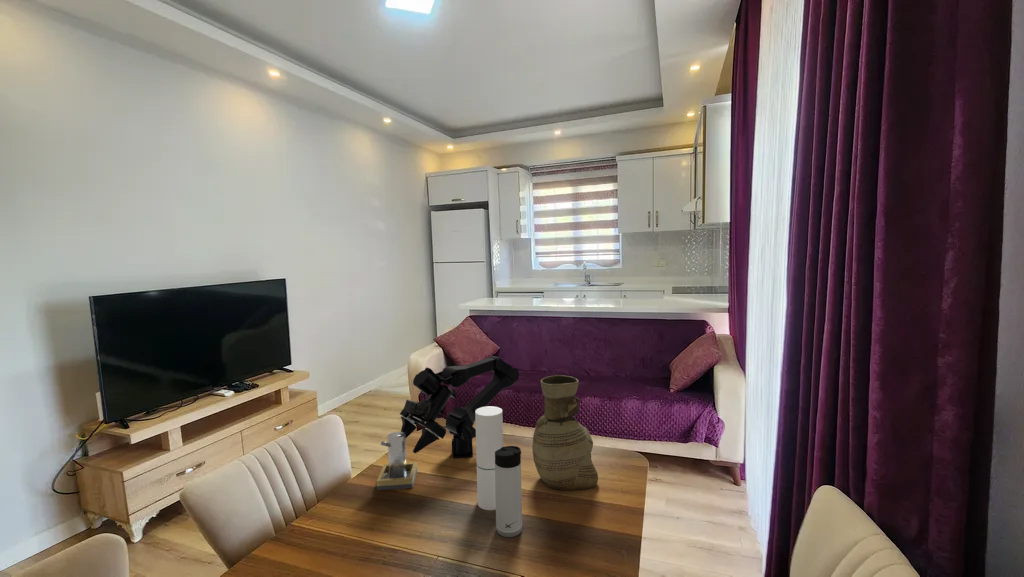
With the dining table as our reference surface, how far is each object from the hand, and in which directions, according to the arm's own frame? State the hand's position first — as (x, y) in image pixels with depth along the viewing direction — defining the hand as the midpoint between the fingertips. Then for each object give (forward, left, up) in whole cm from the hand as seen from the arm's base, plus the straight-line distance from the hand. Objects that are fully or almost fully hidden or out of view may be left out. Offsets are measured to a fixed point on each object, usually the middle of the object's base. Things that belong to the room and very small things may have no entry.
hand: (406, 447), depth 126 cm
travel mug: (-29, +29, -9) cm, 42 cm away
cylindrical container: (-25, +17, -9) cm, 31 cm away
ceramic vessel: (-47, +8, -9) cm, 48 cm away
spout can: (+3, +3, -8) cm, 9 cm away
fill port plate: (+2, +2, -9) cm, 9 cm away
